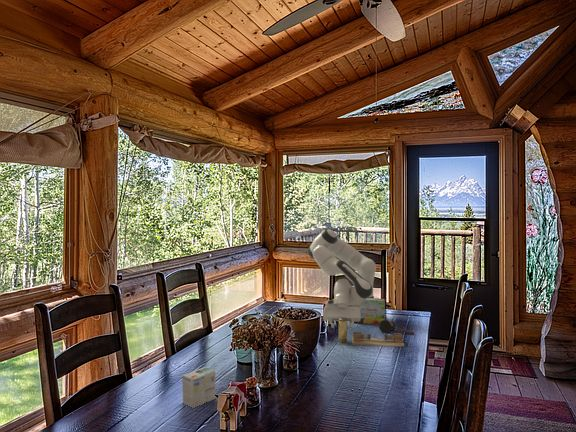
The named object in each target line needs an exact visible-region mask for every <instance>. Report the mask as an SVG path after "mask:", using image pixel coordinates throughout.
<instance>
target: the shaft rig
mask: <svg viewBox="0 0 576 432" xmlns="http://www.w3.org/2000/svg"><path fill="white" fill-rule="evenodd" d="M352 333H353V336H352V338H351V340H352V342H351V343H352V345H353V346H373V347H374V346H377V347H378V346H379V347H405V343H404V341H403V338H404V337H403V334H402V333H401V332H393V334H387V333H384V338H381V337H378V338H377V337H376V338H375V337H371V333H364V334H363V333H362V332H361V331H352Z"/></svg>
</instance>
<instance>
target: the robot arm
mask: <svg viewBox="0 0 576 432" xmlns="http://www.w3.org/2000/svg"><path fill="white" fill-rule="evenodd" d="M307 254H308V255H309V257H310V258H311V259H312V260H314V261H315V262H316V264H317V266H319V268H320V269H321V270H322V272H323V273H324V274H326V275H327V276H336V275H338V274H341V275H344V276H345V278H339V279H337V280H336V281H335V283H334V287H333V297H334V298H332V299H331V300H326V302H325V306H324V308H323V311H322V320H323V321H325V322H329V323H330V325H331V327H330V328H332V329H335V323H334V322H339V320H338V318H347V322H349V321H351V322H350V323H348V325H349V327H348V328H349V329H353V325H354V324H355V323H354V321H355V322H359V321H360V320H361V315H360V312H361V307H360V306H359V305H361V304H362V302H364V301H365V299H366V298H375V297H374V280H375V276H376V274H375V273H376V271H377V264H376V262H375V261H374V260H373V259H371V258H368V257H367V256H365V255H364V254H362V253H361V252H359V251H358V250H357V249H356V248H354V247H353V246H352V245H350V243H347V242H346V241H345V240H343V239H341V238H340V237H338V235H337V233H336V232H335V231H334V230H333V229H332V228H324V229H323V230H322V231H320V233H319V234H318V235H317V236H316V237H315V238H314V239H313V241H312V243H311V244H310V245H309V246H308V248H307ZM346 278H347V279H346ZM350 282H351V283H352V284H351V283H350Z"/></svg>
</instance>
